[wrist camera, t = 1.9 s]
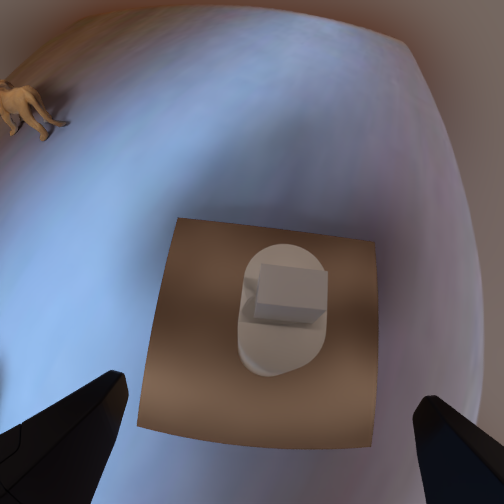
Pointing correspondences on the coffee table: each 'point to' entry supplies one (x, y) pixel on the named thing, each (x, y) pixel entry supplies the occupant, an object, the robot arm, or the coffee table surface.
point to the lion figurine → (23, 108)
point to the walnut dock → (226, 346)
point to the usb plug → (282, 310)
